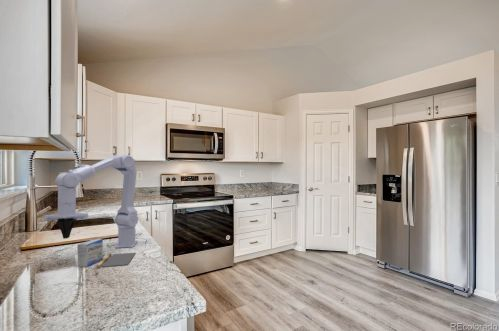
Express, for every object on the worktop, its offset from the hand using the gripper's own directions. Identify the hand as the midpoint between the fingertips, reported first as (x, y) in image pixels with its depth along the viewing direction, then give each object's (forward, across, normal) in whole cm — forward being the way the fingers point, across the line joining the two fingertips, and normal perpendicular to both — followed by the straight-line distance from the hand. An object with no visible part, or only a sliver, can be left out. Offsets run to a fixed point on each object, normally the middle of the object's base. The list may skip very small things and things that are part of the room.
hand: (66, 237), depth 98 cm
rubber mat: (+10, +20, 0) cm, 22 cm away
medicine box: (+10, +9, -1) cm, 14 cm away
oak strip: (+10, +14, -1) cm, 17 cm away
